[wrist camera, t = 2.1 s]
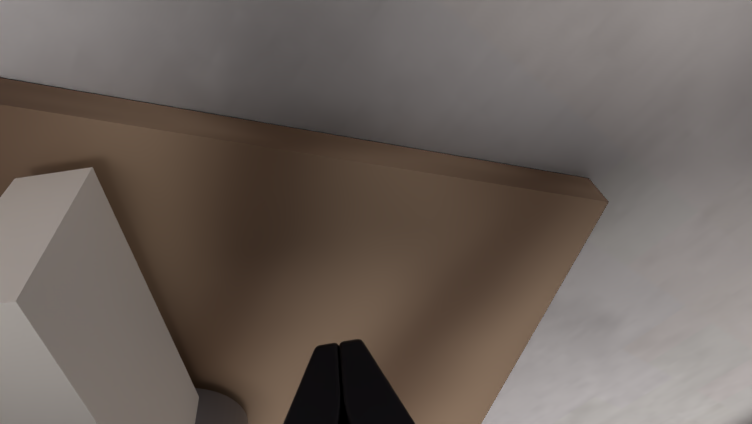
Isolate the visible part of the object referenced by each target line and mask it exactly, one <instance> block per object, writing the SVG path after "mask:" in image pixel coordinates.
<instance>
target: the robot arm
mask: <svg viewBox="0 0 752 424" xmlns="http://www.w3.org/2000/svg"><path fill="white" fill-rule="evenodd" d="M283 424H415V422H414V421H413V419H412V418H411V416H410V414H409V413H408V411H407V410H406V408H405V407H404V405H403V403H402V402H401V400H400V399H399V397H398V396H397V394H396V392H395V391H394V389H393V388H392V386H391V385H390V383H389V381H388V380H387V378H386V377H385V375H384V374H383V372H382V370H381V369H380V367H379V366H378V364H377V363H376V361H375V359H374V358H373V356H372V355H371V353H370V352H369V350H368V348H367V347H366V345H365V344H364V342H363V341H362V340H361V339H354V340H348V341H342V342H341V343H340V344H339V345H338V344H337V343H329V344H323V345H318V346H317V347H315V349H314V351H313V353H312V356H311V358H310V360H309V363H308V365H307V368H306V370H305V372H304V375H303V377H302V379H301V382H300V384H299V387H298V389H297V391H296V394H295V396H294V399H293V401H292V403H291V406H290V408H289V411H288V413H287V415H286V418H285V420H284V423H283Z"/></svg>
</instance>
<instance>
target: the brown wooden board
mask: <svg viewBox="0 0 752 424" xmlns="http://www.w3.org/2000/svg"><path fill="white" fill-rule="evenodd" d="M90 167H93V169H94V171H95V174H96V176H97V178H98V180H99V182H100V184H101V187H102V189H103V191H104V193H105V195H106V197H107V199H108V202H109V204H110V206H111V208H112V210H113V212H114V215H115V217H116V219H117V221H118V223H119V225H120V228H121V230H122V232H123V234H124V236H125V238H126V240H127V243H128V245H129V247H130V249H131V251H132V253H133V256H134V258H135V260H136V262H137V264H138V266H139V269H140V271H141V273H142V275H143V277H144V279H145V281H146V284H147V286H148V288H149V290H150V292H151V294H152V297H153V299H154V301H155V303H156V305H157V307H158V310H159V312H160V314H161V316H162V318H163V320H164V322H165V325H166V327H167V329H168V331H169V333H170V335H171V338H172V340H173V342H174V344H175V346H176V348H177V350H178V353H179V355H180V357H181V359H182V361H183V363H184V366H185V368H186V370H187V372H188V374H189V376H190V379H191V381H192V383H193V385H194V387H195V388H200V389H206V390H211V391H215V392H218V393H221V394H223V395H226V396H228V397H229V398H231V399H233V400H234V401H236V402H237V403H238V404H239V405H240V406H241V407H242V408H243V409H244V411H245V413H246V415H247V418H248V424H283V423H284V420H285V418H286V415H287V413H288V411H289V408H290V406H291V403H292V401H293V399H294V396H295V394H296V391H297V389H298V387H299V384H300V382H301V379H302V377H303V375H304V372H305V370H306V368H307V365H308V363H309V360H310V358H311V356H312V353H313V351H314V349H315V347H317V346H318V345H323V344H329V343H337V344H338V345H339V344H340V343H341V342H342V341H348V340H354V339H361V340H362V341H363V342H364V344H365V345H366V347H367V348H368V350H369V352H370V353H371V355H372V356H373V358H374V359H375V361H376V363H377V364H378V366H379V367H380V369H381V370H382V372H383V374H384V375H385V377H386V378H387V380H388V381H389V383H390V385H391V386H392V388H393V389H394V391H395V392H396V394H397V396H398V397H399V399H400V400H401V402H402V403H403V405H404V407H405V408H406V410H407V411H408V413H409V414H410V416H411V418H412V419H413V421H414V422H415V424H481V423H482V421H483V419H484V418H485V416H486V414H487V413H488V411H489V409H490V407H491V406H492V404H493V402H494V400H495V399H496V397H497V395H498V393H499V392H500V390H501V388H502V386H503V385H504V383H505V381H506V380H507V378H508V376H509V374H510V373H511V371H512V369H513V367H514V366H515V364H516V362H517V360H518V359H519V357H520V355H521V353H522V352H523V350H524V348H525V347H526V345H527V343H528V341H529V340H530V338H531V336H532V334H533V333H534V331H535V329H536V327H537V326H538V324H539V322H540V320H541V319H542V317H543V315H544V314H545V312H546V310H547V308H548V307H549V305H550V303H551V301H552V300H553V298H554V296H555V294H556V293H557V291H558V289H559V287H560V286H561V284H562V282H563V281H564V279H565V277H566V275H567V274H568V272H569V270H570V268H571V267H572V265H573V263H574V261H575V260H576V258H577V256H578V254H579V253H580V251H581V249H582V248H583V246H584V244H585V242H586V241H587V239H588V237H589V235H590V234H591V232H592V230H593V228H594V227H595V225H596V223H597V221H598V220H599V218H600V216H601V214H602V213H603V211H604V209H605V208H606V206H607V204H608V201H607V199H606V198H605V197H604V196H603V195H602V193H601V192H600V191H599V190H598V189H597V188H596V186H595V185H594V184H593V183H592V182H591V180H590V179H589V178H583V177H577V176H572V175H566V174H560V173H554V172H548V171H542V170H537V169H531V168H525V167H519V166H513V165H507V164H501V163H496V162H490V161H484V160H478V159H472V158H466V157H460V156H455V155H449V154H443V153H437V152H431V151H425V150H419V149H414V148H408V147H402V146H396V145H390V144H384V143H378V142H373V141H367V140H361V139H355V138H349V137H343V136H337V135H332V134H326V133H320V132H314V131H308V130H302V129H297V128H291V127H285V126H279V125H273V124H267V123H261V122H256V121H250V120H244V119H238V118H232V117H226V116H220V115H215V114H209V113H203V112H197V111H191V110H185V109H179V108H174V107H168V106H162V105H156V104H150V103H144V102H138V101H133V100H127V99H121V98H115V97H109V96H103V95H98V94H92V93H86V92H80V91H74V90H68V89H62V88H57V87H51V86H45V85H39V84H33V83H27V82H21V81H16V80H10V79H4V78H0V197H1V196H2V194H3V193H4V192H5V190H6V189H7V188H8V187H9V185H10V184H11V183H12V181H13V180H14V179H15V178H22V177H28V176H35V175H42V174H49V173H56V172H63V171H69V170H76V169H83V168H90Z"/></svg>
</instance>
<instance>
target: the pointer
mask: <svg viewBox="0 0 752 424" xmlns="http://www.w3.org/2000/svg"><path fill="white" fill-rule="evenodd" d="M0 424H248V418H247V415H246V413H245V411H244V409H243V408H242V407H241V406H240V405H239V404H238V403H237V402H236V401H234V400H233V399H231V398H229V397H228V396H226V395H223V394H221V393H218V392H215V391H211V390H206V389H200V388H195V387H194V385H193V383H192V381H191V379H190V376H189V374H188V372H187V370H186V368H185V366H184V363H183V361H182V359H181V357H180V355H179V353H178V350H177V348H176V346H175V344H174V342H173V340H172V338H171V335H170V333H169V331H168V329H167V327H166V325H165V322H164V320H163V318H162V316H161V314H160V312H159V310H158V307H157V305H156V303H155V301H154V299H153V297H152V294H151V292H150V290H149V288H148V286H147V284H146V281H145V279H144V277H143V275H142V273H141V271H140V269H139V266H138V264H137V262H136V260H135V258H134V256H133V253H132V251H131V249H130V247H129V245H128V243H127V240H126V238H125V236H124V234H123V232H122V230H121V228H120V225H119V223H118V221H117V219H116V217H115V215H114V212H113V210H112V208H111V206H110V204H109V202H108V199H107V197H106V195H105V193H104V191H103V189H102V187H101V184H100V182H99V180H98V178H97V176H96V174H95V171H94V169H93V167H90V168H83V169H76V170H69V171H63V172H56V173H49V174H42V175H35V176H28V177H22V178H15V179H14V180H13V181H12V183H11V184H10V185H9V187H8V188H7V189H6V190H5V192H4V193H3V194H2V196H1V197H0Z"/></svg>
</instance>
